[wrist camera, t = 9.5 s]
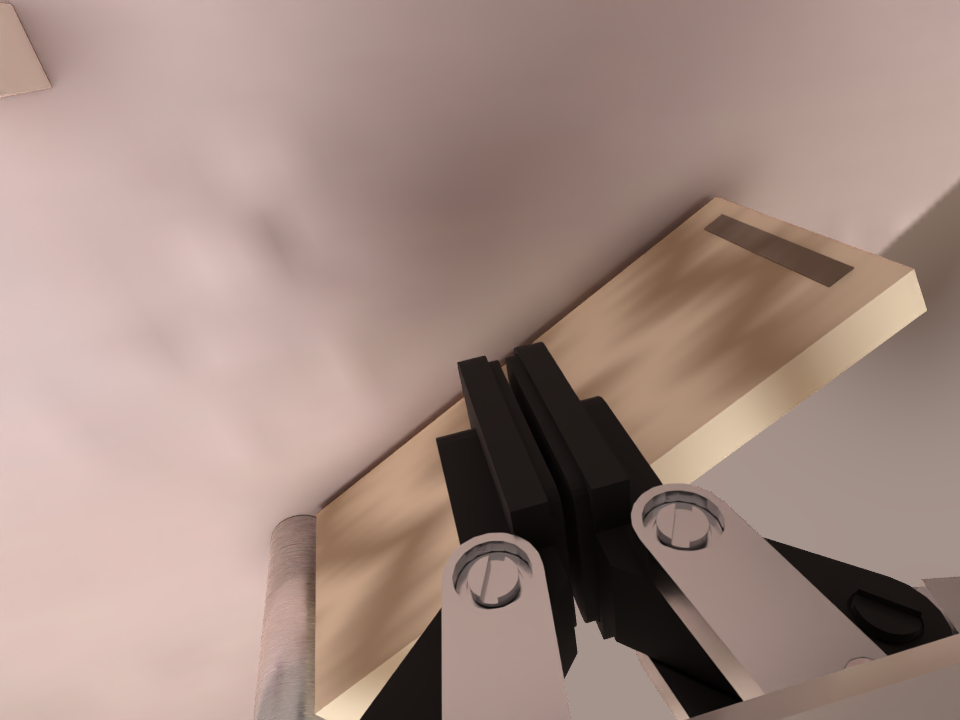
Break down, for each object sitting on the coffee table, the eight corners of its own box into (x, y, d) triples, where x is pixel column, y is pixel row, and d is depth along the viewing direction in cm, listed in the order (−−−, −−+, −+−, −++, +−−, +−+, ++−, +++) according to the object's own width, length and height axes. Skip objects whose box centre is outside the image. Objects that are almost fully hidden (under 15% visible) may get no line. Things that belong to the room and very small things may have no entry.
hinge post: (320, 508, 25) (320, 791, 15) (337, 548, 26) (346, 834, 17) (263, 525, 25) (227, 824, 15) (282, 564, 26) (260, 865, 16)
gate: (342, 532, 25) (352, 731, 18) (315, 513, 24) (313, 713, 17) (731, 228, 23) (927, 311, 15) (715, 195, 22) (913, 267, 15)
